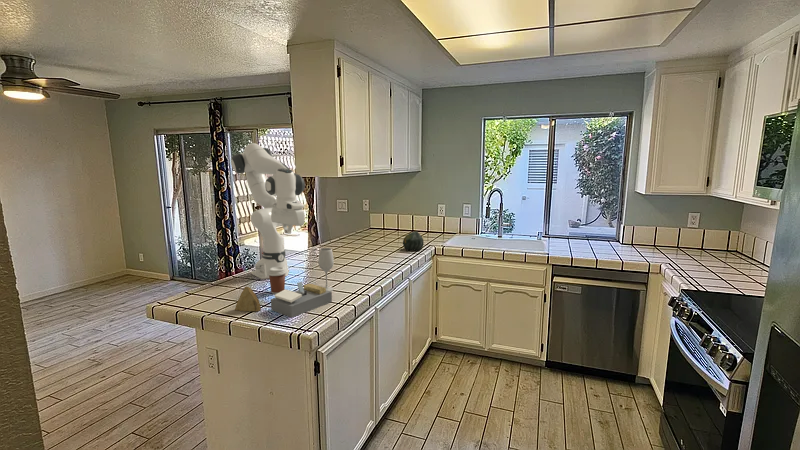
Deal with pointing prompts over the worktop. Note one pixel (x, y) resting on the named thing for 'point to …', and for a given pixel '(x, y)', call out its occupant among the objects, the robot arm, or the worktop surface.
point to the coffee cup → (277, 279)
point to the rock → (248, 301)
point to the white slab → (288, 295)
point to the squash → (413, 241)
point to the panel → (301, 303)
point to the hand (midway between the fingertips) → (287, 233)
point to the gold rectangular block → (314, 288)
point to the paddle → (300, 288)
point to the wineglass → (326, 263)
